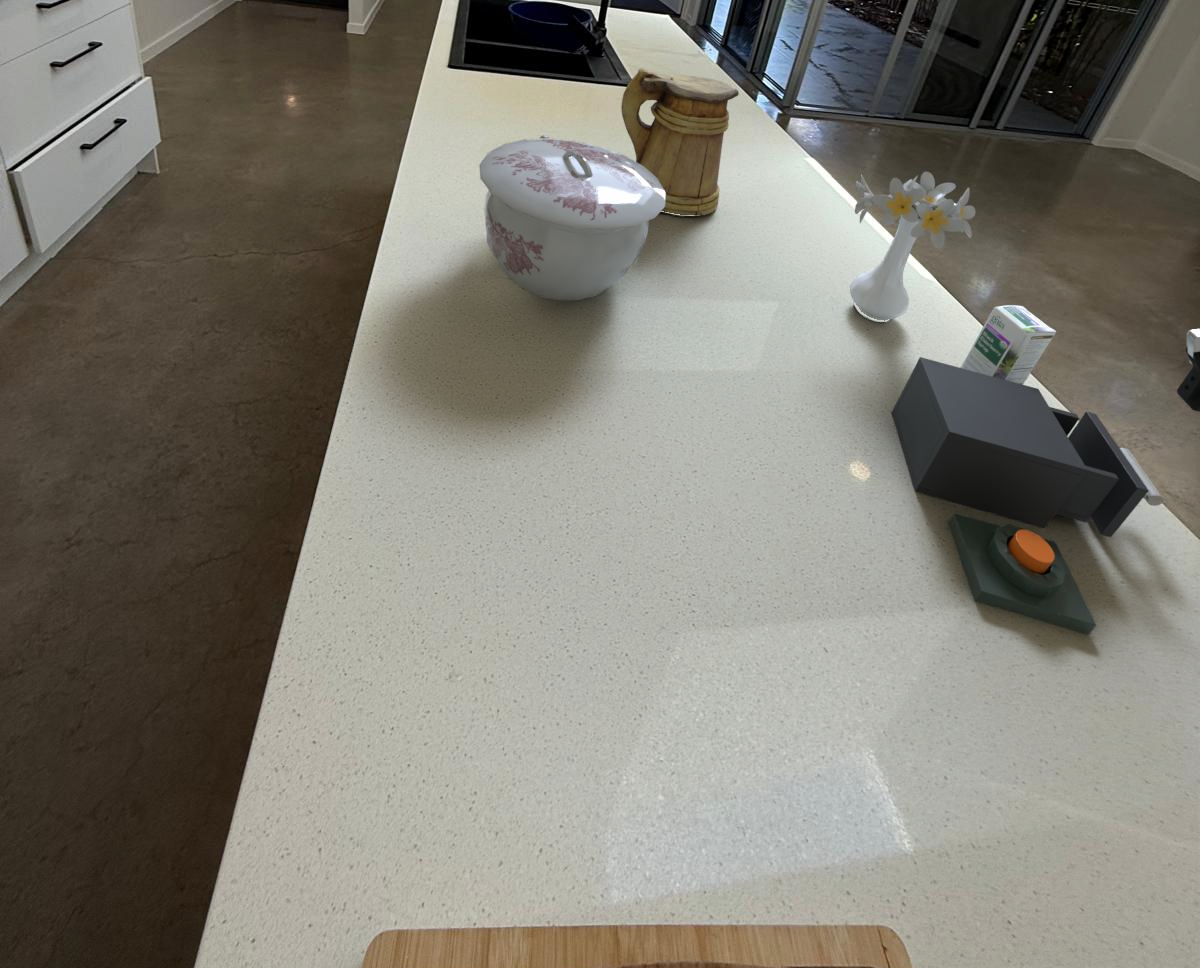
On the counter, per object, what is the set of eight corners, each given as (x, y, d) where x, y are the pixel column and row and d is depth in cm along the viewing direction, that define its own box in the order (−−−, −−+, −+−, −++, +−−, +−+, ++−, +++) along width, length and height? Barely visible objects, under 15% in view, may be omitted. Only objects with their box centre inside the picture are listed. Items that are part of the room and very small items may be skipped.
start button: (1037, 545, 69) (1045, 535, 68) (1052, 578, 66) (1061, 567, 65) (1002, 535, 69) (1010, 524, 68) (1016, 567, 66) (1024, 556, 65)
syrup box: (948, 384, 96) (992, 305, 89) (977, 381, 98) (1023, 303, 92) (978, 414, 91) (1027, 333, 85) (1009, 410, 93) (1059, 330, 87)
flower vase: (804, 281, 114) (855, 152, 103) (904, 297, 116) (964, 171, 105) (828, 329, 102) (888, 189, 92) (939, 346, 104) (1010, 210, 93)
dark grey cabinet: (1003, 443, 87) (1038, 388, 82) (1044, 529, 75) (1088, 470, 71) (890, 412, 88) (919, 356, 84) (914, 492, 76) (949, 431, 72)
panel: (1048, 551, 72) (1063, 531, 71) (1088, 635, 64) (1106, 614, 63) (947, 522, 73) (960, 501, 72) (974, 601, 65) (989, 579, 64)
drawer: (1098, 467, 85) (1131, 423, 81) (1150, 549, 74) (1190, 502, 71) (958, 428, 86) (985, 383, 83) (989, 503, 76) (1021, 455, 72)
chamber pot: (611, 355, 87) (645, 223, 78) (431, 286, 93) (444, 155, 84) (661, 257, 112) (691, 148, 103) (516, 207, 118) (532, 100, 109)
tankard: (724, 225, 127) (761, 105, 116) (605, 206, 125) (632, 82, 114) (708, 183, 143) (740, 75, 132) (603, 166, 141) (626, 54, 130)
